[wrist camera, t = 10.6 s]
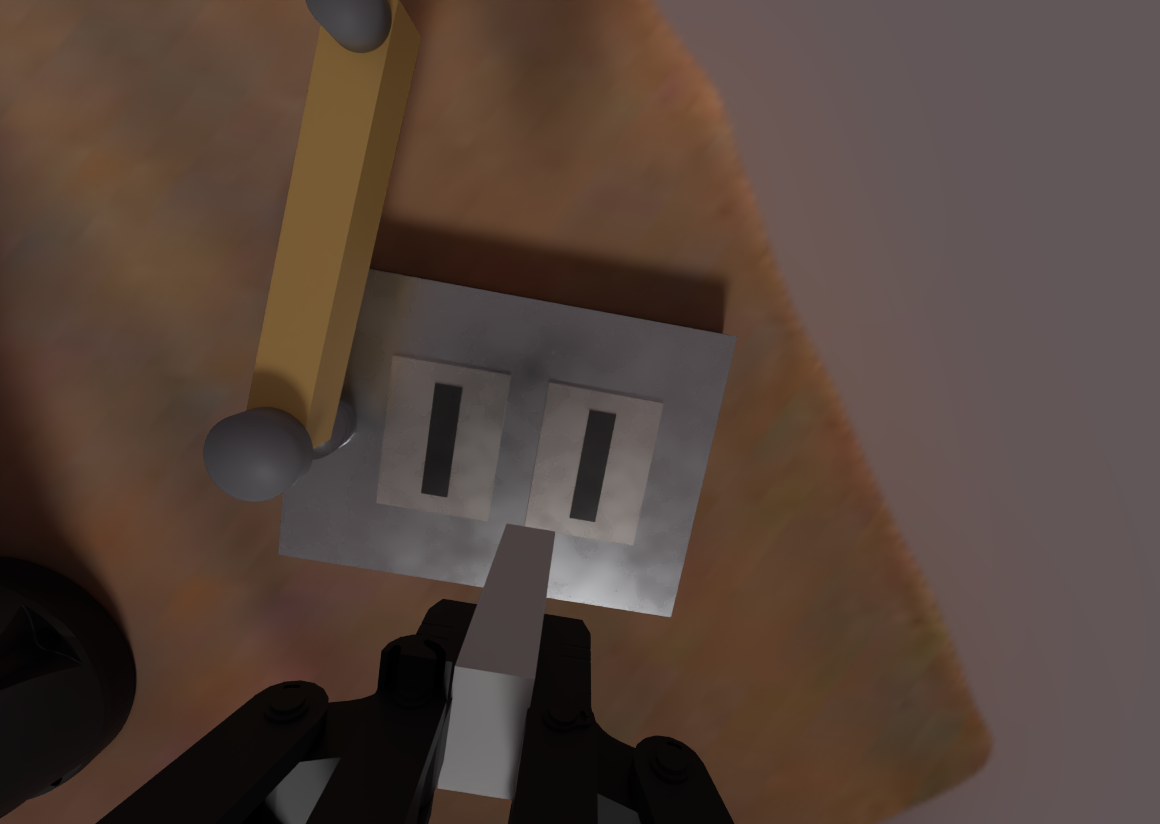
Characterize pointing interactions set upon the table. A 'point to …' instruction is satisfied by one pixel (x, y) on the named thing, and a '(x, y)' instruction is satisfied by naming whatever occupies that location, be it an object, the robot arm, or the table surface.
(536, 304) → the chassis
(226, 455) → the yellow wooden bar
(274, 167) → the table surface
